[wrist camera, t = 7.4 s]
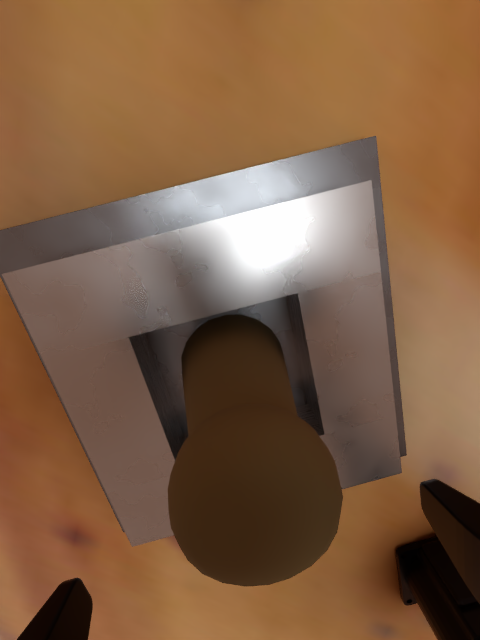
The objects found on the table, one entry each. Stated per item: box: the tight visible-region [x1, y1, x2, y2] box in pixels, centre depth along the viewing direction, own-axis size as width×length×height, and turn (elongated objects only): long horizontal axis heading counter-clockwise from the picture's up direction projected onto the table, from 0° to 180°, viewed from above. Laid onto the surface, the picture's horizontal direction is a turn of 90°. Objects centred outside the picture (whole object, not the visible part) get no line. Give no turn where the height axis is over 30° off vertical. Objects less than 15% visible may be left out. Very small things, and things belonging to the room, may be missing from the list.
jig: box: [0, 136, 407, 547], centre depth 18 cm, size 20×20×4 cm
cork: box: [168, 315, 343, 586], centre depth 13 cm, size 6×6×11 cm
